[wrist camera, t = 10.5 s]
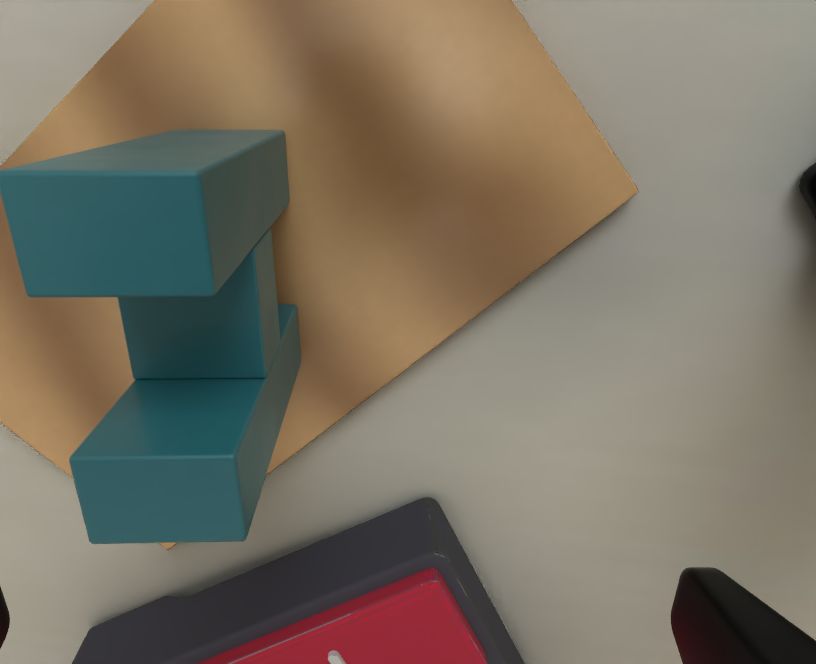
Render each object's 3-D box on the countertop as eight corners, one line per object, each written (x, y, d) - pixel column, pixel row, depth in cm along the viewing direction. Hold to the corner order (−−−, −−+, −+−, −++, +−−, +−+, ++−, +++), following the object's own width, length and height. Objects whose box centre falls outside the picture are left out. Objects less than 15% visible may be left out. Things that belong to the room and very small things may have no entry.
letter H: (285, 129, 16) (198, 171, 9) (301, 362, 19) (246, 543, 12) (173, 129, 16) (-9, 171, 9) (206, 363, 19) (88, 545, 11)
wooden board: (363, -214, 14) (362, -226, 13) (632, 188, 18) (640, 191, 17) (-125, 309, 18) (-141, 316, 18) (172, 540, 22) (167, 551, 22)
